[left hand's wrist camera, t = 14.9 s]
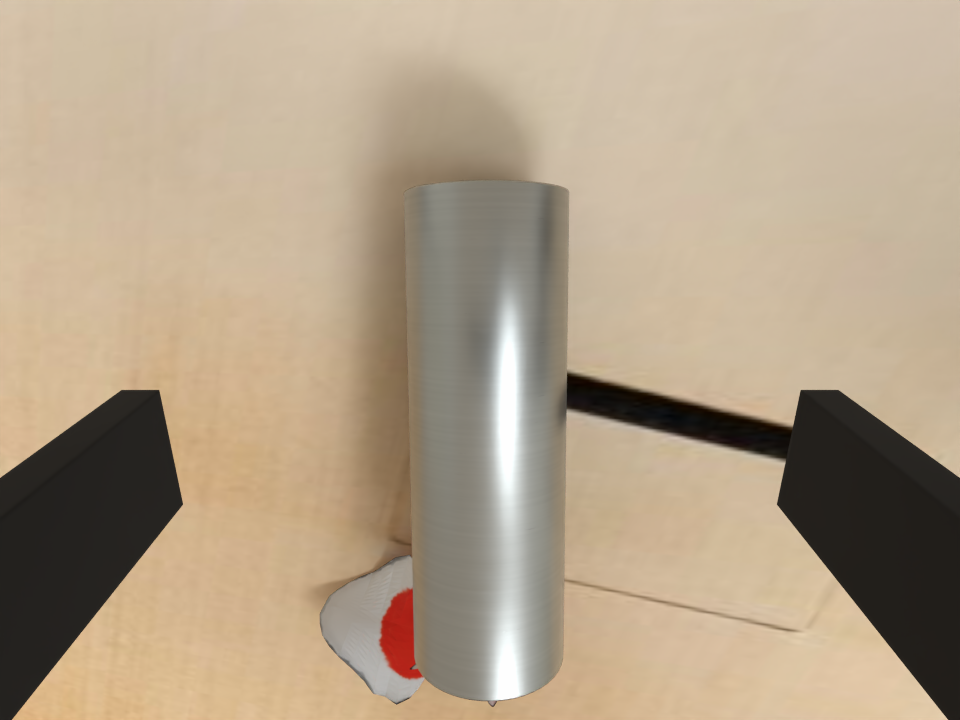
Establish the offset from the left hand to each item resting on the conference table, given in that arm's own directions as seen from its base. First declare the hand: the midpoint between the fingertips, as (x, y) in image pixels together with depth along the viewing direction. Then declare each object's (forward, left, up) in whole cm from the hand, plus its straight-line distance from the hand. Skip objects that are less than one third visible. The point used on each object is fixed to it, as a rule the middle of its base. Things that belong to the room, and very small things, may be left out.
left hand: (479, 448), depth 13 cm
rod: (+6, +7, -21) cm, 23 cm away
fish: (+18, +18, -24) cm, 35 cm away
